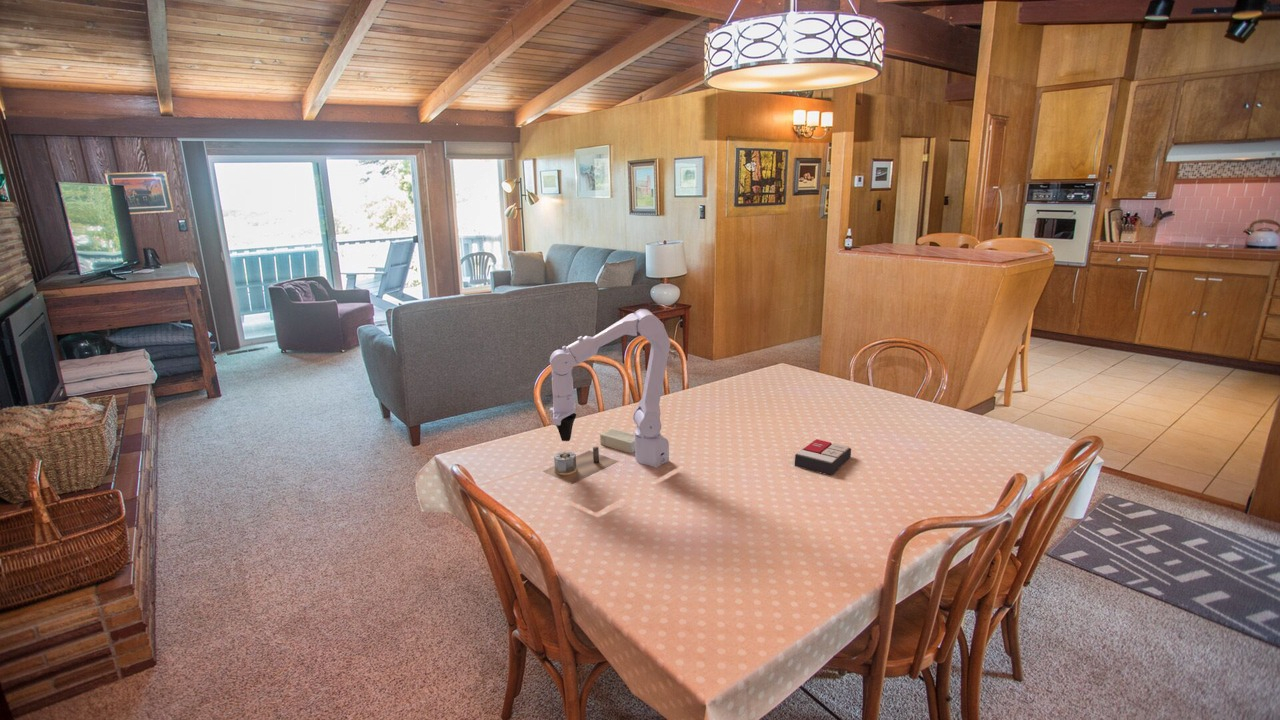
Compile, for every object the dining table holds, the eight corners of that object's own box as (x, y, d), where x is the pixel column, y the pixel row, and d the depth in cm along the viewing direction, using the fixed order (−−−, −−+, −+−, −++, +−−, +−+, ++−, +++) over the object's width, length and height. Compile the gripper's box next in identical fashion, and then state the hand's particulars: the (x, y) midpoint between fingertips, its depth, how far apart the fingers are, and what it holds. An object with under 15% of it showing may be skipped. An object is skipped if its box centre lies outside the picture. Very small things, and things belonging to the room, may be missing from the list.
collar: (578, 465, 175) (577, 452, 174) (572, 473, 170) (571, 460, 169) (559, 463, 176) (558, 450, 175) (552, 472, 171) (552, 459, 170)
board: (618, 464, 179) (618, 445, 177) (572, 487, 166) (571, 467, 164) (589, 453, 186) (588, 435, 185) (543, 474, 173) (541, 455, 172)
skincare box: (600, 446, 191) (630, 457, 184) (599, 433, 190) (630, 443, 182) (613, 440, 196) (643, 449, 188) (613, 427, 194) (643, 436, 187)
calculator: (852, 445, 180) (833, 461, 168) (850, 459, 181) (831, 476, 169) (815, 437, 186) (794, 452, 175) (814, 451, 187) (793, 466, 176)
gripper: (557, 385, 177) (560, 429, 180) (540, 402, 163) (543, 450, 167) (581, 385, 175) (583, 430, 179) (566, 403, 162) (569, 451, 165)
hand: (566, 440), depth 173 cm, fingers closed
